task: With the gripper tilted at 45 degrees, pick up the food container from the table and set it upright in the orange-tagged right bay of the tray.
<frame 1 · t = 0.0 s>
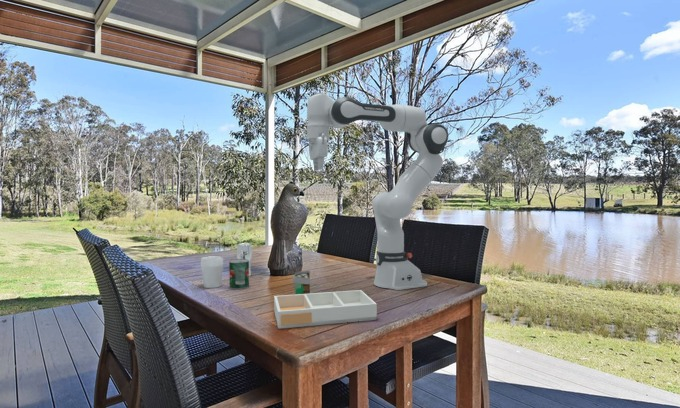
hand: (318, 170, 150), 48 cm above the table, tool pointing down, fingers open, 8 cm apart
tray: (323, 315, 121), on the table
canned tomato: (239, 287, 156), on the table
cup: (212, 286, 158), on the table
food container: (301, 302, 135), on the table
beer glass: (244, 276, 176), on the table
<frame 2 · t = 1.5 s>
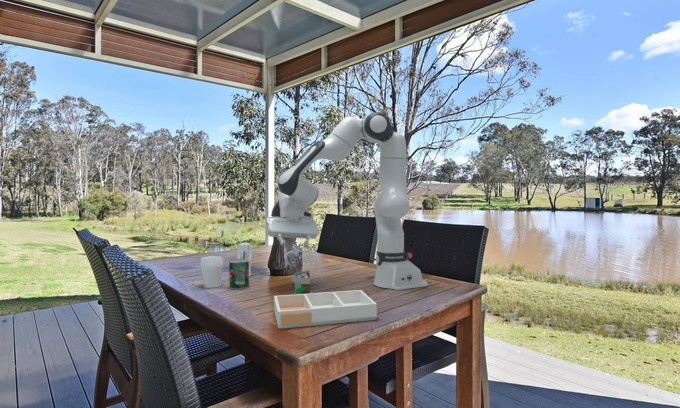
hand: (295, 245, 146), 19 cm above the table, tool tilted 45°, fingers open, 8 cm apart
nothing on the table moved.
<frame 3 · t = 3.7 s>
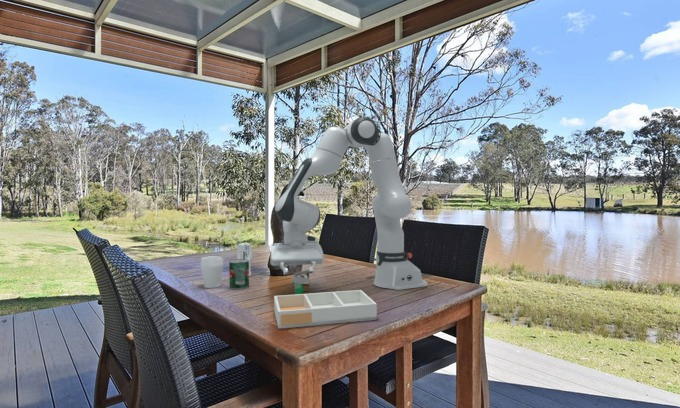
hand: (298, 273, 139), 9 cm above the table, tool tilted 45°, fingers open, 8 cm apart
food container: (301, 302, 135), on the table, touching gripper
everything else where it was.
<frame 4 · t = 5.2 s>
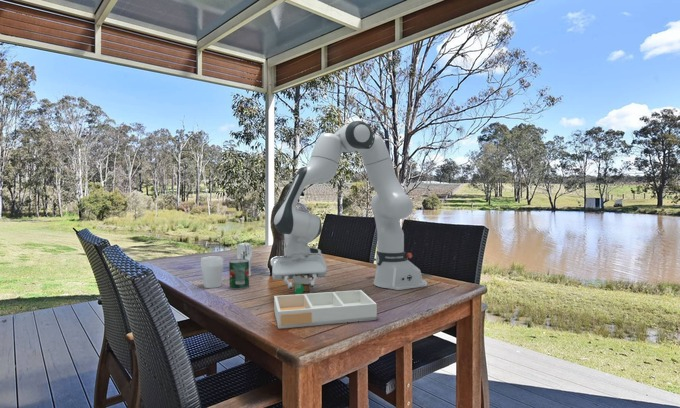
hand: (301, 287, 135), 5 cm above the table, tool tilted 45°, fingers open, 7 cm apart
nothing on the table moved.
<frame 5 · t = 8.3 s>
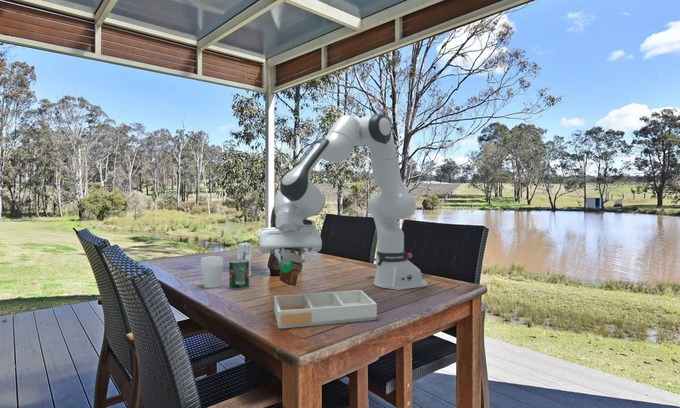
hand: (292, 261, 118), 18 cm above the table, tool tilted 45°, fingers closed on food container, 5 cm apart
food container: (285, 279, 120), point 12 cm above the table, touching gripper
everything else where it was.
when the fingers open (8 cm above the table, at t = 11.1 s): food container stays where it is, resting on tray.
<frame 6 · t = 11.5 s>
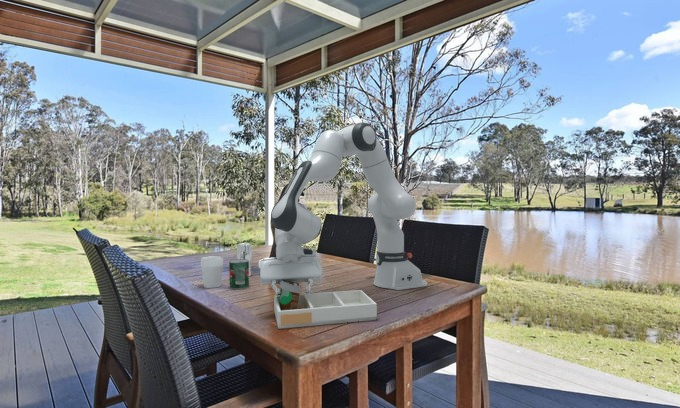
hand: (293, 293, 118), 8 cm above the table, tool tilted 45°, fingers open, 8 cm apart
food container: (284, 312, 119), point 2 cm above the table, touching gripper, tray
everything else where it was.
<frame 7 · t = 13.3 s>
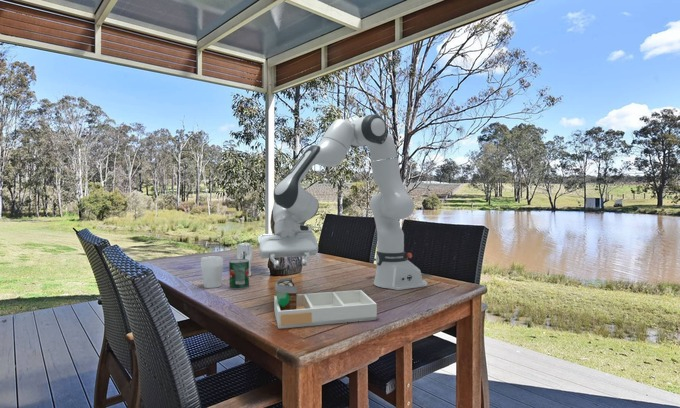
hand: (290, 265, 127), 15 cm above the table, tool tilted 45°, fingers open, 8 cm apart
food container: (284, 314, 119), point 1 cm above the table, touching tray
everything else where it was.
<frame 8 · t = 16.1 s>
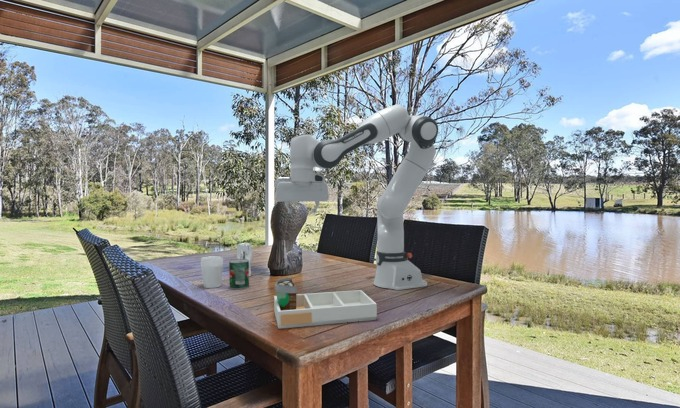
hand: (302, 213, 144), 31 cm above the table, tool pointing down, fingers open, 8 cm apart
nothing on the table moved.
at the end: food container 2.8 cm from the target spot on the tray, point 1.0 cm above the tray's base; food container tilted 0°; the gripper is holding nothing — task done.
